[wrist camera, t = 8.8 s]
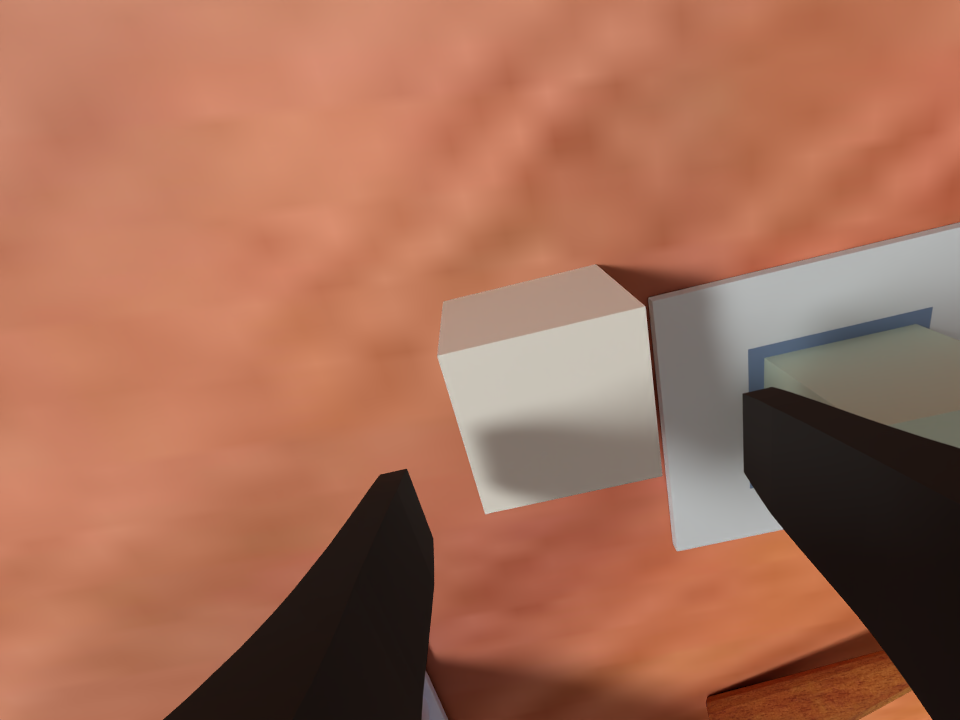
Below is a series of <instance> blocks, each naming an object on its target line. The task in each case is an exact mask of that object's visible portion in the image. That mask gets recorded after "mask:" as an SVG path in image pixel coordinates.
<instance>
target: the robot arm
mask: <svg viewBox="0 0 960 720" xmlns="http://www.w3.org/2000/svg"><path fill="white" fill-rule="evenodd" d="M742 399H743V460H744V473H745V475H746V477H747V478H748V480H749V481H750V483H751V485H752V486H753V488H754V489H755V491H756V493H757V494H758V496H759V497H760V499H761V500H762V502H763V503H764V505H765V506H766V508H767V509H768V510H769V512H770V513H771V515H772V516H773V517H774V518H775V520H776V521H777V522H778V523H779V524H780V526H781V527H782V528H783V529H784V530H785V532H786V533H787V534H788V535H789V536H790V538H791V539H792V540H793V541H794V542H795V543H796V545H797V546H798V547H799V548H800V549H801V551H802V552H803V553H804V554H805V555H806V556H807V558H808V559H809V560H810V561H811V562H812V563H813V565H814V566H815V567H816V568H817V569H818V570H819V571H820V573H821V574H822V575H823V576H824V577H825V578H826V580H827V581H828V582H829V583H830V584H831V585H832V587H833V588H834V589H835V590H836V591H837V592H838V594H839V595H840V596H841V597H842V598H843V599H844V601H845V602H846V603H847V604H848V605H849V606H850V608H851V609H852V610H853V611H854V612H855V614H856V615H857V616H858V617H859V619H860V620H861V621H862V622H863V624H864V625H865V626H866V627H867V629H868V630H869V631H870V632H871V634H872V635H873V636H874V637H875V639H876V640H877V641H878V643H879V644H880V646H881V647H882V648H883V650H884V651H885V653H886V654H887V655H888V657H889V658H890V660H891V661H892V662H893V664H894V665H895V667H896V668H897V669H898V671H899V672H900V674H901V675H902V676H903V678H904V679H905V681H906V682H907V683H908V685H909V686H910V688H911V689H912V690H913V692H914V693H915V695H916V696H917V698H918V699H919V700H920V702H921V703H922V705H923V706H924V708H925V709H926V711H927V712H928V714H929V715H930V717H931V718H932V720H960V448H958V447H954V446H951V445H948V444H944V443H941V442H938V441H934V440H931V439H928V438H924V437H921V436H918V435H915V434H912V433H909V432H906V431H903V430H900V429H897V428H894V427H891V426H888V425H885V424H882V423H879V422H876V421H873V420H870V419H867V418H864V417H861V416H858V415H856V414H853V413H850V412H847V411H844V410H841V409H838V408H836V407H833V406H830V405H827V404H824V403H821V402H819V401H816V400H813V399H810V398H807V397H804V396H801V395H798V394H795V393H792V392H789V391H786V390H782V389H779V388H775V387H769V388H765V389H760V390H756V391H752V392H747V393H743V394H742ZM433 592H434V548H433V537H432V534H431V531H430V529H429V526H428V523H427V521H426V518H425V515H424V513H423V510H422V507H421V505H420V502H419V500H418V497H417V494H416V492H415V489H414V486H413V484H412V481H411V478H410V476H409V473H408V470H407V469H404V470H399V471H395V472H390V473H386V474H381V475H380V476H379V477H378V478H377V479H376V481H375V482H374V483H373V485H372V486H371V488H370V489H369V490H368V492H367V493H366V495H365V496H364V498H363V499H362V500H361V502H360V503H359V505H358V506H357V507H356V509H355V510H354V512H353V513H352V515H351V516H350V517H349V519H348V520H347V521H346V523H345V524H344V526H343V527H342V528H341V530H340V531H339V532H338V534H337V535H336V536H335V538H334V539H333V541H332V542H331V543H330V545H329V546H328V547H327V549H326V550H325V551H324V552H323V554H322V555H321V556H320V557H319V559H318V560H317V561H316V562H315V564H314V565H313V566H312V567H311V569H310V570H309V571H308V572H307V574H306V575H305V576H304V577H303V579H302V580H301V581H300V582H299V584H298V585H297V586H296V587H295V589H294V590H293V591H292V592H291V593H290V594H289V596H288V597H287V598H286V599H285V600H284V601H283V603H282V604H281V605H280V606H279V607H278V608H277V609H276V610H275V612H274V613H273V614H272V615H271V616H270V617H269V618H268V619H267V620H266V621H265V622H264V623H263V624H262V625H261V627H260V628H259V629H258V630H257V631H256V632H255V633H254V634H253V635H252V636H251V637H250V638H249V639H248V640H247V641H246V642H245V643H244V644H243V645H242V646H241V647H240V648H239V649H238V650H237V651H236V652H235V653H234V654H233V655H232V656H231V657H230V658H229V659H228V660H227V661H226V662H225V663H224V664H223V665H222V666H221V667H220V668H219V669H218V670H216V671H215V672H214V673H213V674H212V675H211V676H210V677H209V678H208V679H207V680H206V681H205V682H204V683H203V684H202V685H201V686H200V687H199V688H198V689H197V690H196V691H195V692H193V693H192V694H191V695H190V696H189V697H188V698H187V699H186V700H185V701H184V702H183V703H182V704H180V705H179V706H178V707H177V708H176V709H175V710H174V711H172V712H171V713H170V714H169V715H168V716H167V717H166V718H164V719H163V720H448V718H447V716H446V714H445V711H444V709H443V707H442V705H441V703H440V700H439V698H438V696H437V694H436V691H435V689H434V687H433V685H432V683H431V680H430V678H429V676H428V674H427V672H426V662H427V653H428V643H429V633H430V623H431V613H432V603H433Z"/></svg>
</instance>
